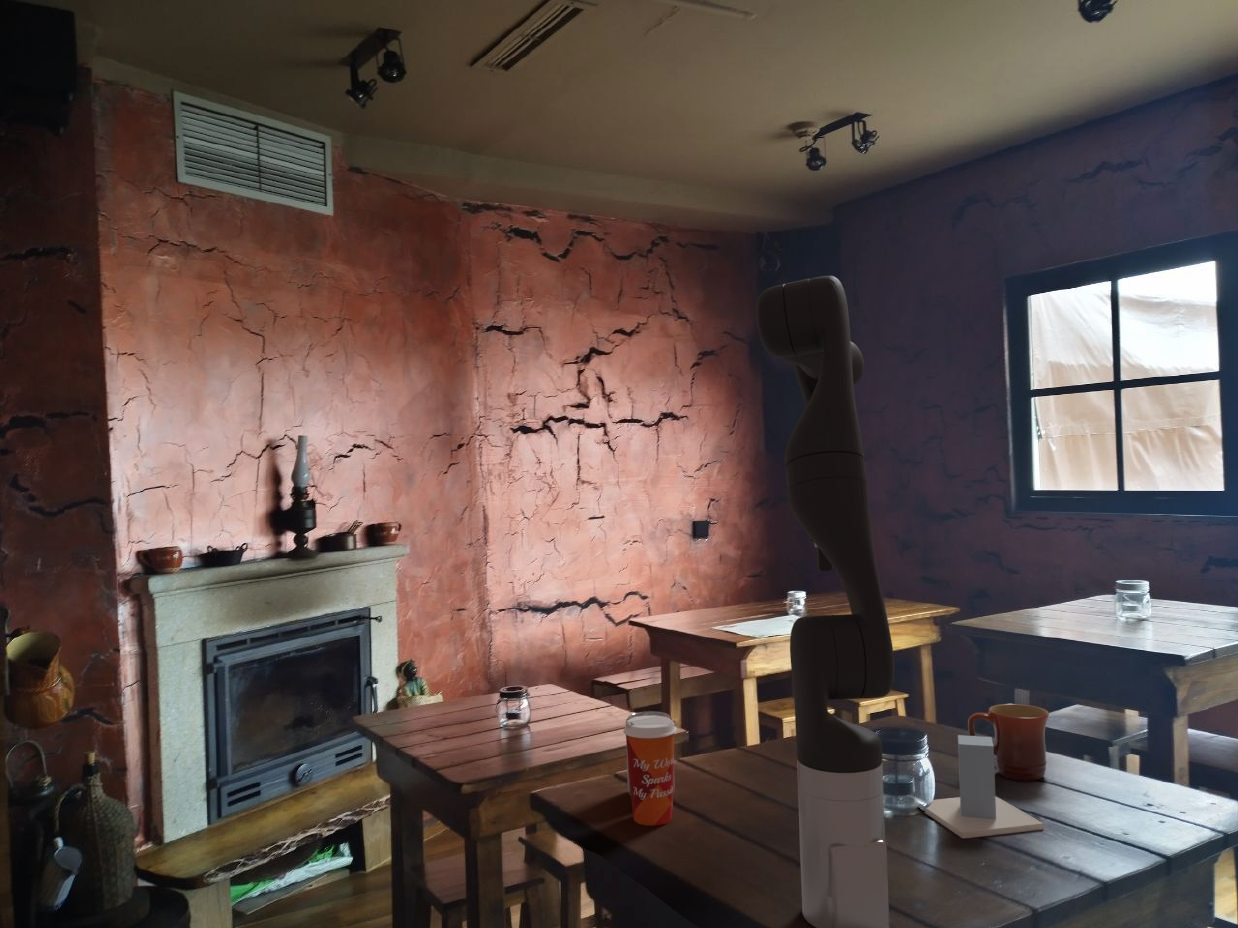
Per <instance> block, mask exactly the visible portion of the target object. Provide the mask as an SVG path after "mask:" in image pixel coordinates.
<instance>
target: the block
mask: <svg viewBox="0 0 1238 928" xmlns="http://www.w3.org/2000/svg"><path fill="white" fill-rule="evenodd" d="M993 745H994V742H993V737H992V736H977V735H976V736H970V735H962V734H961V735H960V734H958V735H957V746H958V747H957V749H958V750H957V751H958V777H959V778H958V779H959V797H960V807H961V816H962V817H974V818H986V819H996V800H995V796H996V778H995V755H994V746H993Z"/></svg>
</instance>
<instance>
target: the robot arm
mask: <svg viewBox="0 0 1238 928" xmlns="http://www.w3.org/2000/svg"><path fill="white" fill-rule="evenodd" d="M755 305H756V306H755V307H756V309H755V314H756V323H757V331H758V334H759V338H760V341H761V343H762V345H763V347H764V348H765V351H766V352H768V354H769V355H770V356H772V357H774V358H777V359H783V360H786V361H789V362H790V363H794V372H795V376H796V379H797V383H798V386H799V388H800V390H801V394H802V396H803V400H804V404H805V408H804V410H803V412H802V414H801V416H800V417H799V419H798V421H797V423H796V425H795V426H794V429H793V431H792V433H791V434H790V437H789V440H788V442H787V445H786V448H785V452H784V465H785V466H784V467H785V475H786V485H787V486H786V487H787V496H788V503H789V506H790V509H791V511H792V513H793V515H794V516H795V519H796V520H797V522H798V523H799V524H800V526H801V527H802V528H803V530H804V532H806V534H807V536H809V541H810V543H812V544H814V547H815V548H816V558H817V559H816V562H817V570H818V571H820V572H830V571H832V569H833V570H834V571H835V572H836V574H837V576H838V578H839V579H840V582H841V584H842V587H843V589H844V591H845V595H846V597H847V601H848V604H849V608H850V613H851V614H847V613H845V614H823V615H819V614H818V615H817V614H816V615H805V616H801V617H800V616H799V617H798V618H797V619H795V621H794V622H793V625H792V627H791V630H790V636H789V652H790V654H789V655H790V669H791V678H792V679H791V680H792V688H793V691H792V692H793V704H794V719H795V724H794V725H795V737H796V738H795V739H796V761H797V762H796V763H797V765H796V766H797V797H798V799H797V800H798V801H797V803H798V823H799V827H798V828H799V829H798V830H799V855H800V856H799V857H800V858H799V859H800V879H801V880H800V881H801V885H800V886H801V908H802V909H801V911H802V912H801V913H802V916H803V918H804V919H805V921H807V923H809V924H810V925H812V927H815V928H890V915H889V914H890V911H889V909H890V908H889V882H888V881H889V879H888V857H887V856H888V855H887V854H888V853H887V852H888V851H887V844H886V843H887V842H886V833H885V805H884V803H885V802H884V774H883V772H884V769H883V746H882V741H881V738H880V736H879V735H878V734H877V733H876V732H874V731H873V730H871V729H869V728H867V727H864V726H862V725H859V724H855V723H852V722H849V721H846V720H845V719H844V720H843V719H841V718H838V717H837V716H835V715H834V714H832V713H831V712H829V711H828V704H827V702H828V701H833V700H857V699H858V700H860V699H862V700H863V699H877V698H883V697H886V696H887V695H889V693H890V692H891V690H892V689H893V685H894V681H895V656H894V649H893V640H892V636H891V631H890V630H891V629H890V624H889V620H888V615H887V611H886V605H885V600H884V596H883V594H884V593H883V590H882V586H881V582H880V574H879V570H878V565H877V557H876V552H875V545H874V536H873V530H872V529H873V528H872V519H871V509H870V497H869V485H868V478H867V477H868V476H867V469H866V462H865V455H864V449H863V442H862V436H861V431H860V425H859V424H860V423H859V418H858V417H859V416H858V412H857V406H856V398H855V387H854V386H857V385H858V383H859V382H860V381H861V380H862V378H863V375H864V371H865V361H864V357H863V354H862V352H861V350H860V348H859V347H858V345H856V344H855V343H854V342H852V341H851V328H850V317H849V308H848V299H847V295H846V292H845V289H844V287H843V285H842V282H841V281H840V280H839V279H838V278H837V277H835V276H834V275H822V276H821V275H820V276H816V277H812V278H806V279H800V280H795V281H791V282H787V283H783V284H778V285H777V284H776V285H774V286H771V287H769V288H765V290H763V291H762V292H761V293H760V295H759V296H758V298H757V302H756V304H755Z"/></svg>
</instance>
